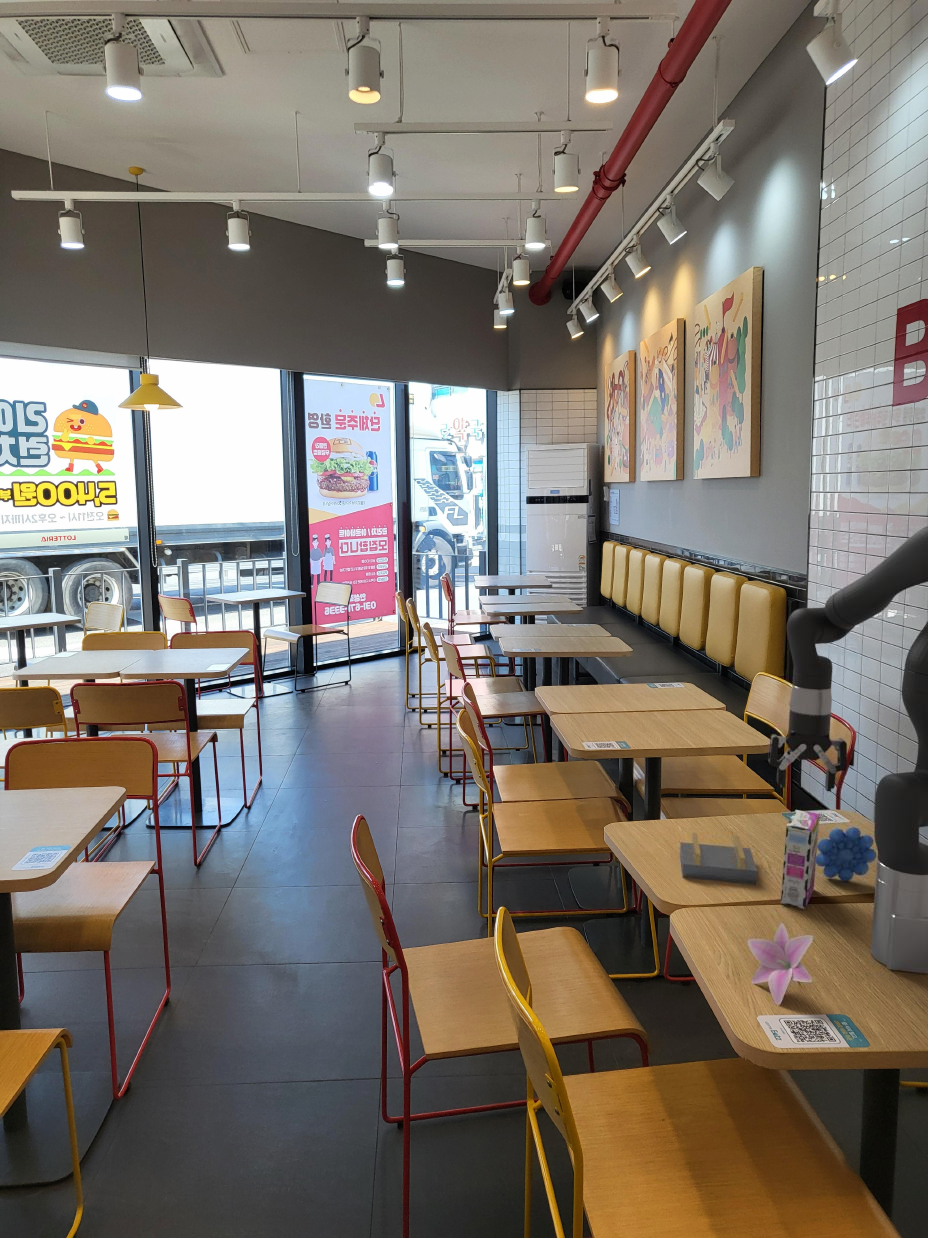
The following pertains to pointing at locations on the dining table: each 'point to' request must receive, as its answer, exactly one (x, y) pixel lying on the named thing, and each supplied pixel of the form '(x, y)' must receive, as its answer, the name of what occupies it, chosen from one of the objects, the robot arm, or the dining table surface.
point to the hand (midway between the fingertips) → (805, 788)
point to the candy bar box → (800, 859)
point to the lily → (780, 961)
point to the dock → (717, 862)
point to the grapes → (845, 853)
